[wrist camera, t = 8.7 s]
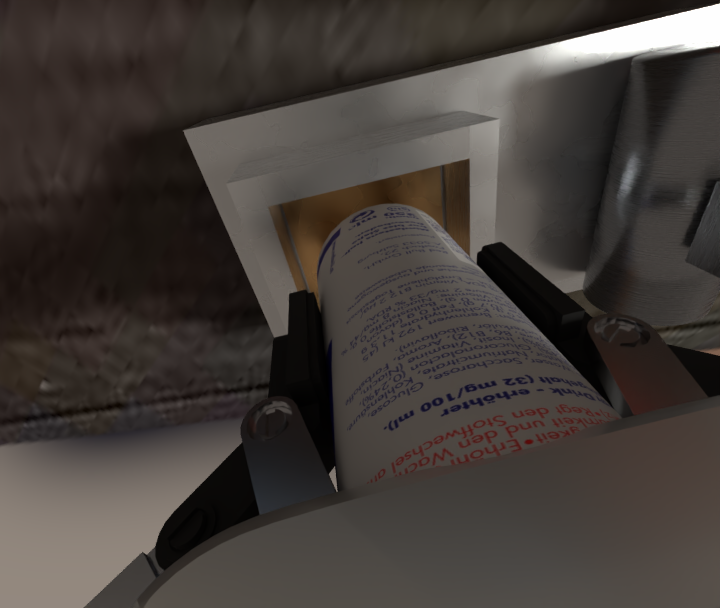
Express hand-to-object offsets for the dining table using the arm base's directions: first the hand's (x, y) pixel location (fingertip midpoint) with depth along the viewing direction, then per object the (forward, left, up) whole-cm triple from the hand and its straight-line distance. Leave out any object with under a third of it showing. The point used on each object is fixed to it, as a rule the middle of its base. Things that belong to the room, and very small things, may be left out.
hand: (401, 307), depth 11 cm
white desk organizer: (0, +5, -10) cm, 11 cm away
